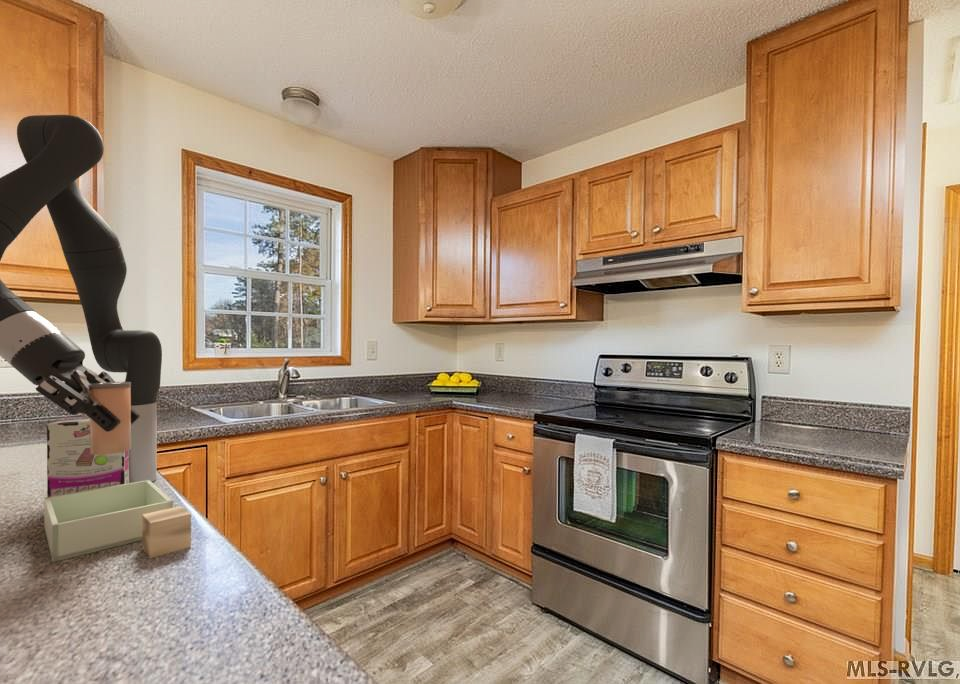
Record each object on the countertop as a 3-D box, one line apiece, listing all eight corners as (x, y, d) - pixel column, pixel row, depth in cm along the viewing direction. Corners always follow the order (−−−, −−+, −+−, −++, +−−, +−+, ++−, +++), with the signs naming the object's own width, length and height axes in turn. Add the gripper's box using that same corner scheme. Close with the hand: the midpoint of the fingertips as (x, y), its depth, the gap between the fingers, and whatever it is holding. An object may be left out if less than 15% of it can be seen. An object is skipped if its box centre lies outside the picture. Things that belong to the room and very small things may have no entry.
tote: (44, 528, 76) (44, 497, 76) (148, 506, 87) (149, 479, 87) (52, 562, 64) (52, 525, 64) (172, 532, 75) (172, 501, 75)
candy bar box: (130, 498, 91) (130, 414, 91) (124, 506, 87) (124, 418, 87) (55, 508, 86) (55, 419, 86) (45, 517, 82) (45, 423, 82)
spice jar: (102, 448, 75) (102, 382, 75) (138, 446, 76) (137, 381, 76) (81, 455, 70) (81, 384, 70) (119, 453, 71) (119, 384, 71)
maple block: (142, 548, 69) (142, 514, 69) (181, 538, 73) (181, 505, 73) (150, 558, 66) (150, 523, 66) (190, 547, 69) (190, 513, 69)
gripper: (21, 329, 65) (118, 413, 67) (86, 332, 79) (165, 401, 81) (-25, 367, 64) (75, 452, 66) (50, 363, 78) (130, 433, 80)
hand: (124, 423), depth 74 cm, fingers closed on spice jar, 5 cm apart
